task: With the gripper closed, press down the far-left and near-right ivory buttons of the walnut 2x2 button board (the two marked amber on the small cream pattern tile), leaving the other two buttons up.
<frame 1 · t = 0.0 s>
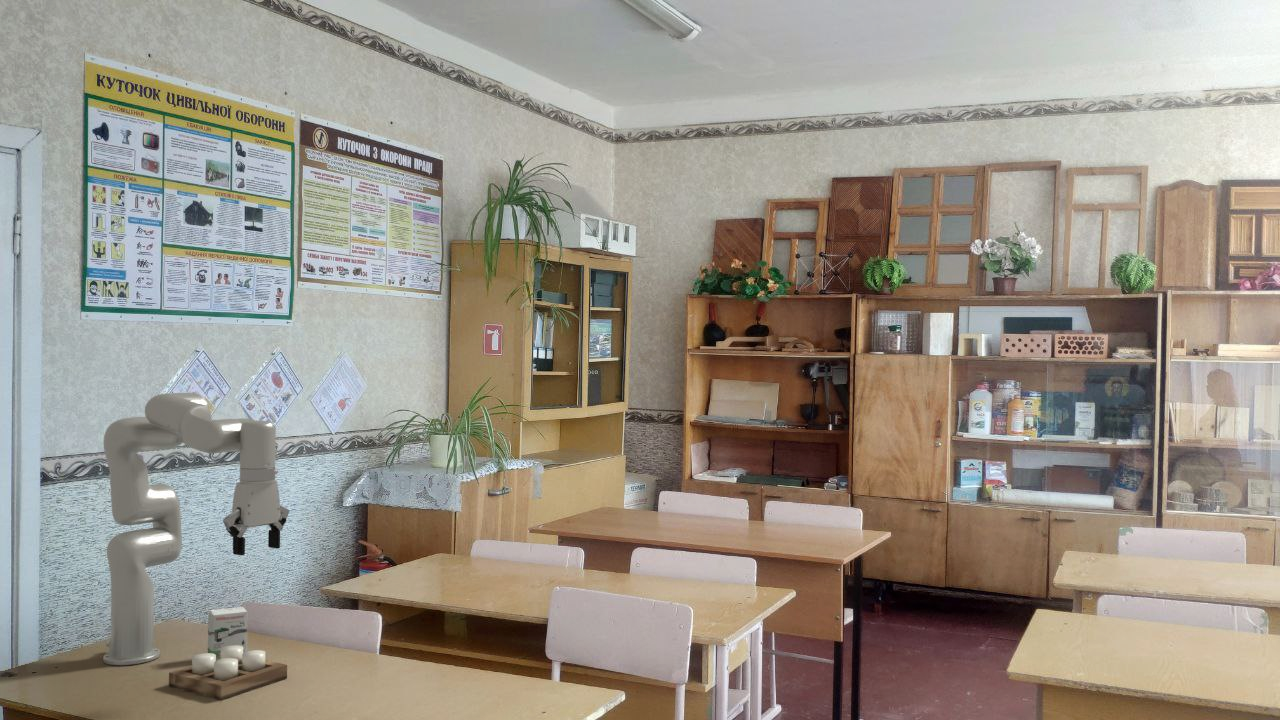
hand: (256, 551, 230), 31 cm above the table, fingers open, 9 cm apart
pattern tile: (213, 668, 245), on the table
ink box: (227, 658, 254), on the table
button a: (203, 663, 233), point 5 cm above the table, slide at 0.0 cm
button b: (231, 655, 240), point 5 cm above the table, slide at 0.0 cm
button d: (253, 660, 236), point 5 cm above the table, slide at 0.0 cm
button c: (225, 669, 229), point 5 cm above the table, slide at 0.0 cm
button board: (228, 682, 234), on the table
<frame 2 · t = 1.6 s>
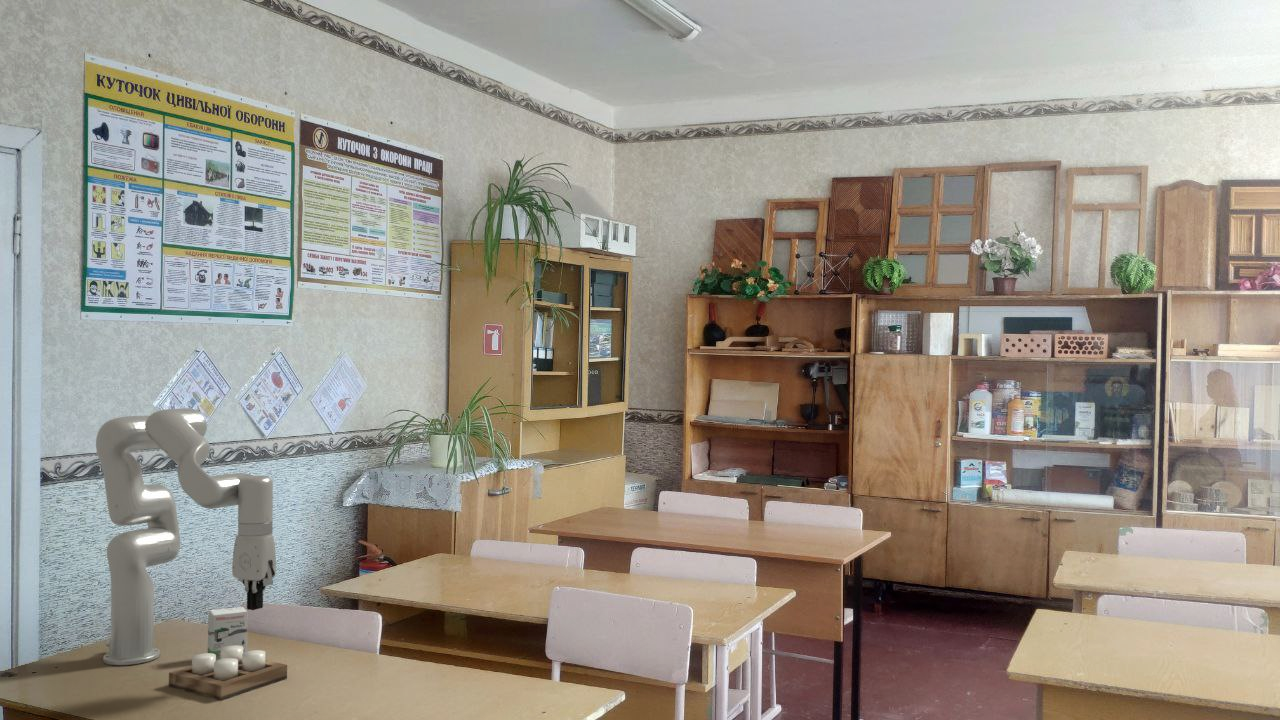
hand: (254, 608, 236), 17 cm above the table, fingers closed
nothing on the table moved.
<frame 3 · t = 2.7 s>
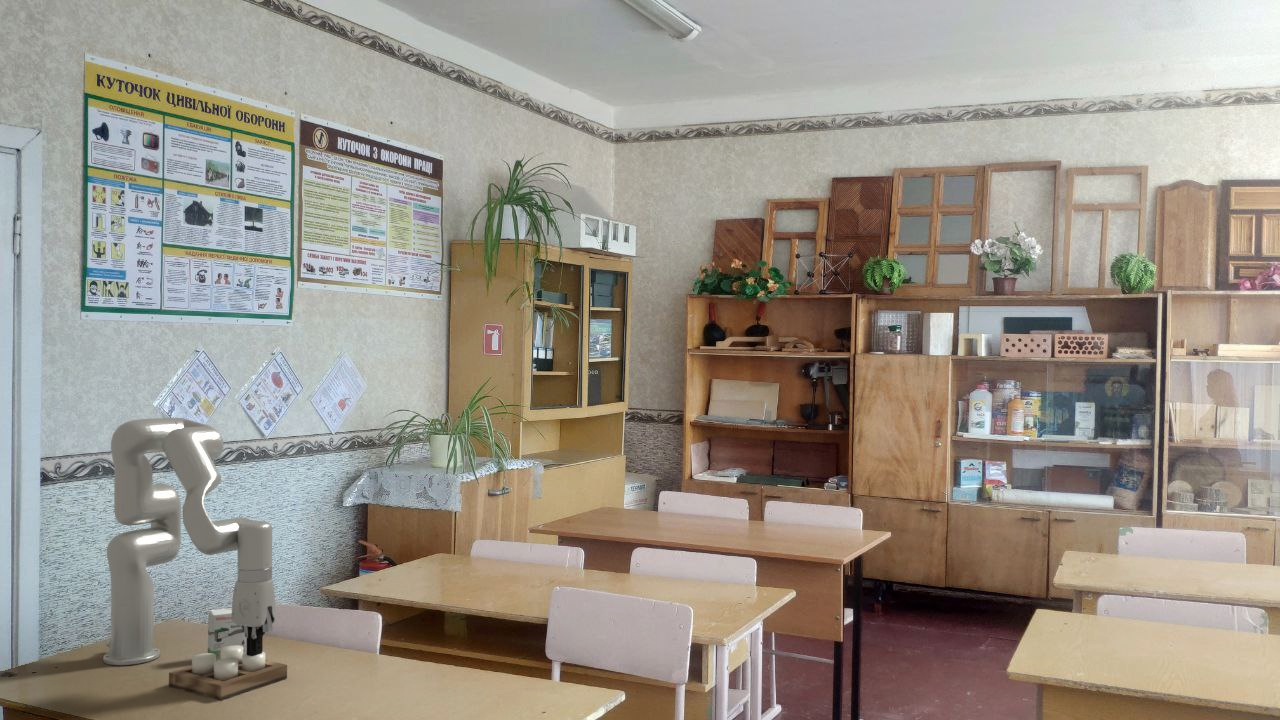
hand: (254, 654, 236), 6 cm above the table, fingers closed
button d: (253, 661, 236), point 4 cm above the table, slide at 0.3 cm, touching gripper
everything else where it was.
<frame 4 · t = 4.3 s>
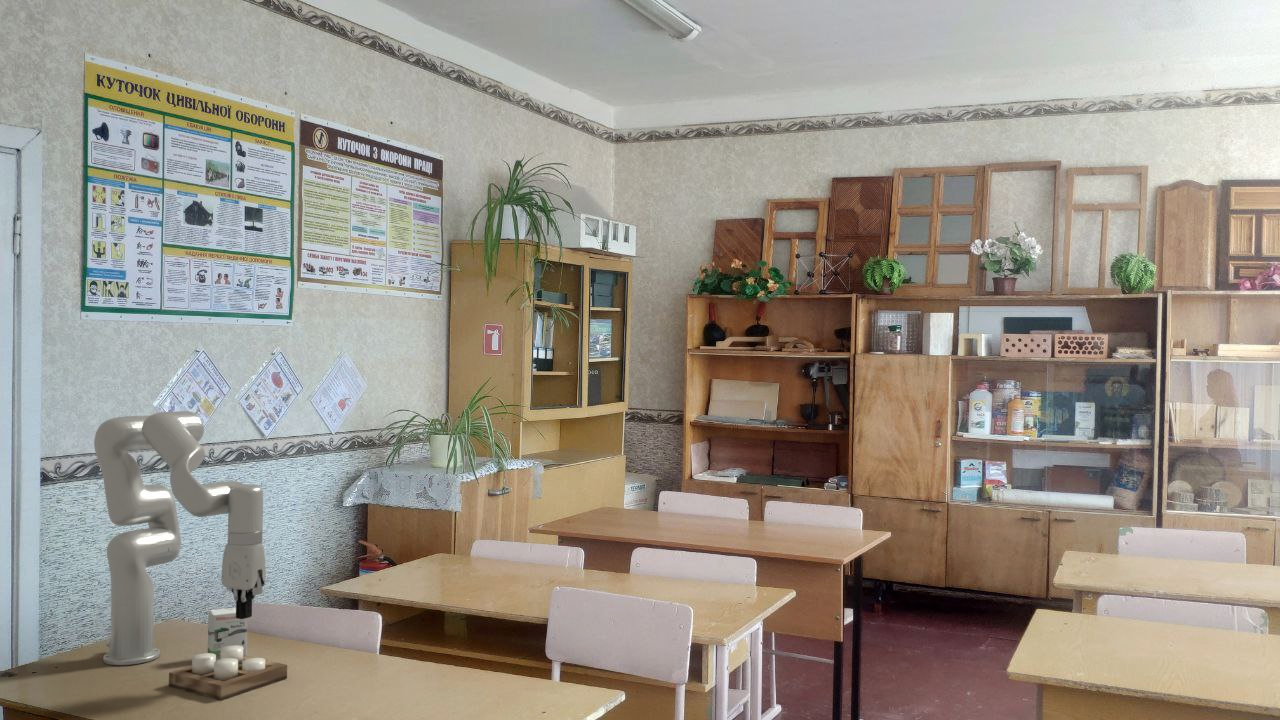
hand: (243, 617, 235), 15 cm above the table, fingers closed
button d: (253, 668, 236), point 3 cm above the table, slide at 1.8 cm
everything else where it was.
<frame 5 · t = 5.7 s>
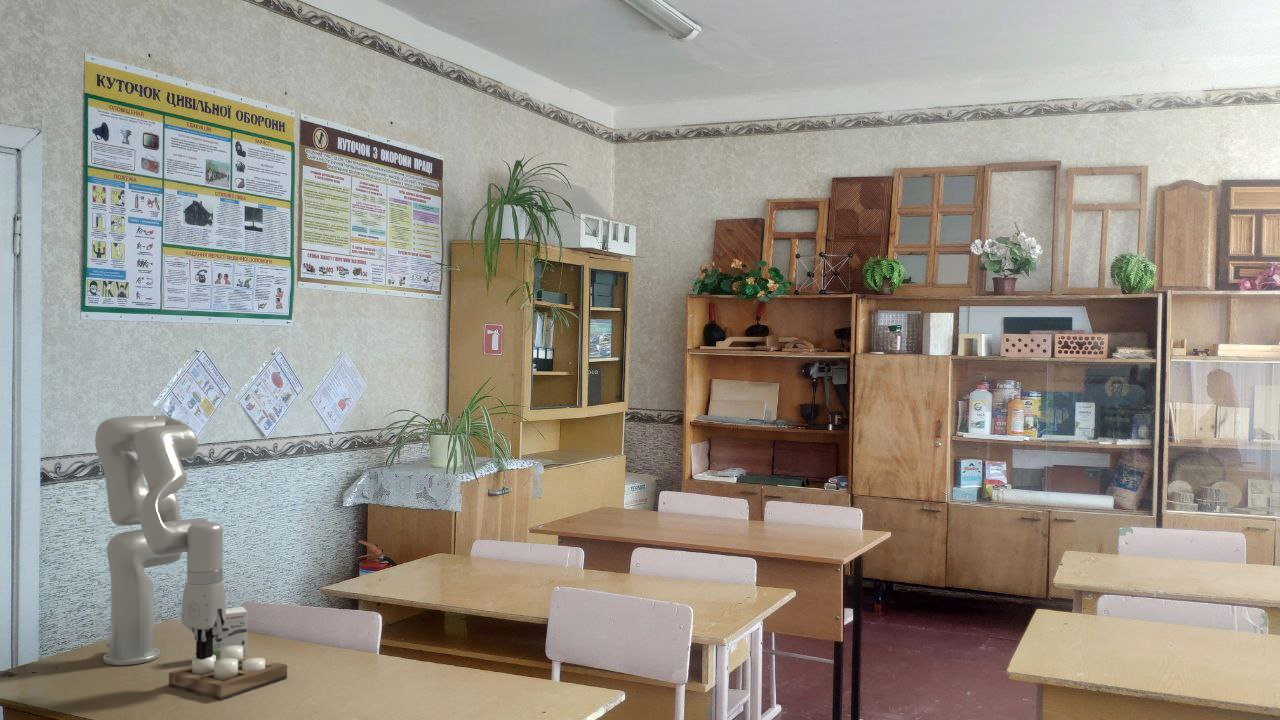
hand: (204, 657, 233), 6 cm above the table, fingers closed
button a: (203, 664, 233), point 4 cm above the table, slide at 0.2 cm, touching gripper
everything else where it was.
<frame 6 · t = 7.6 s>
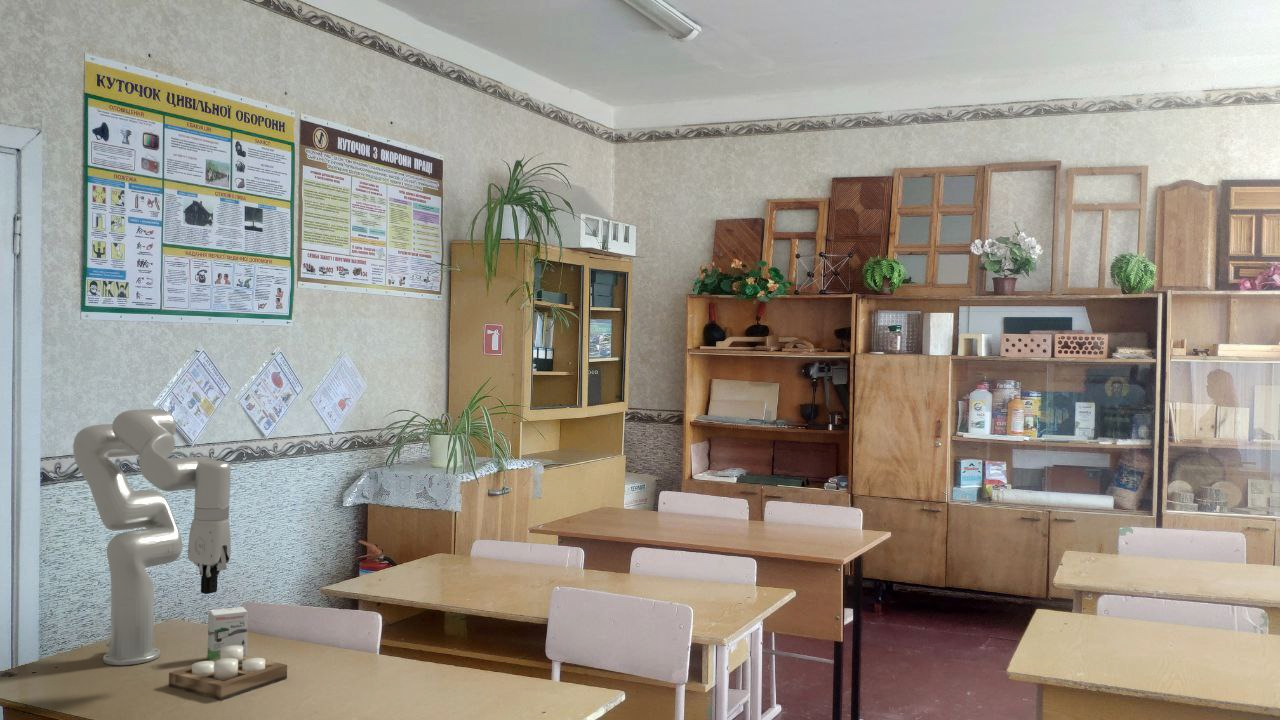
hand: (208, 592, 237), 20 cm above the table, fingers closed
button a: (203, 671, 233), point 3 cm above the table, slide at 1.8 cm
everything else where it was.
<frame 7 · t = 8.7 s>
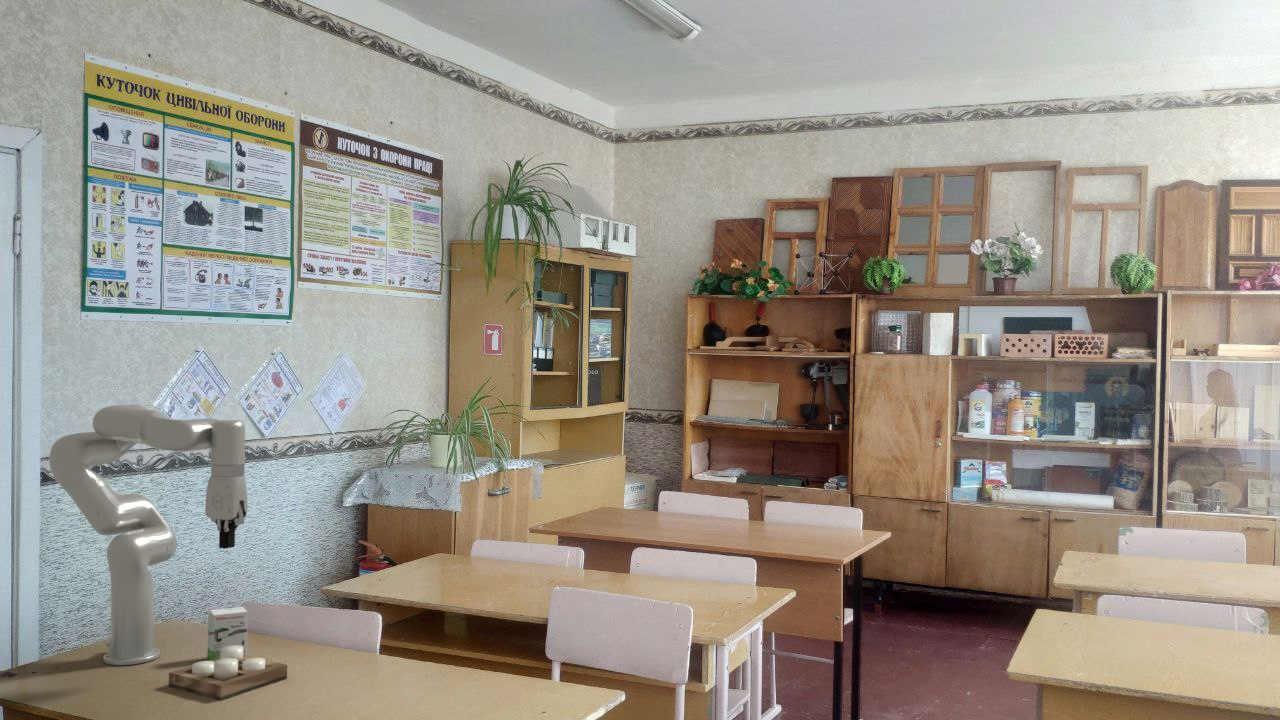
hand: (227, 547, 246), 29 cm above the table, fingers closed
nothing on the table moved.
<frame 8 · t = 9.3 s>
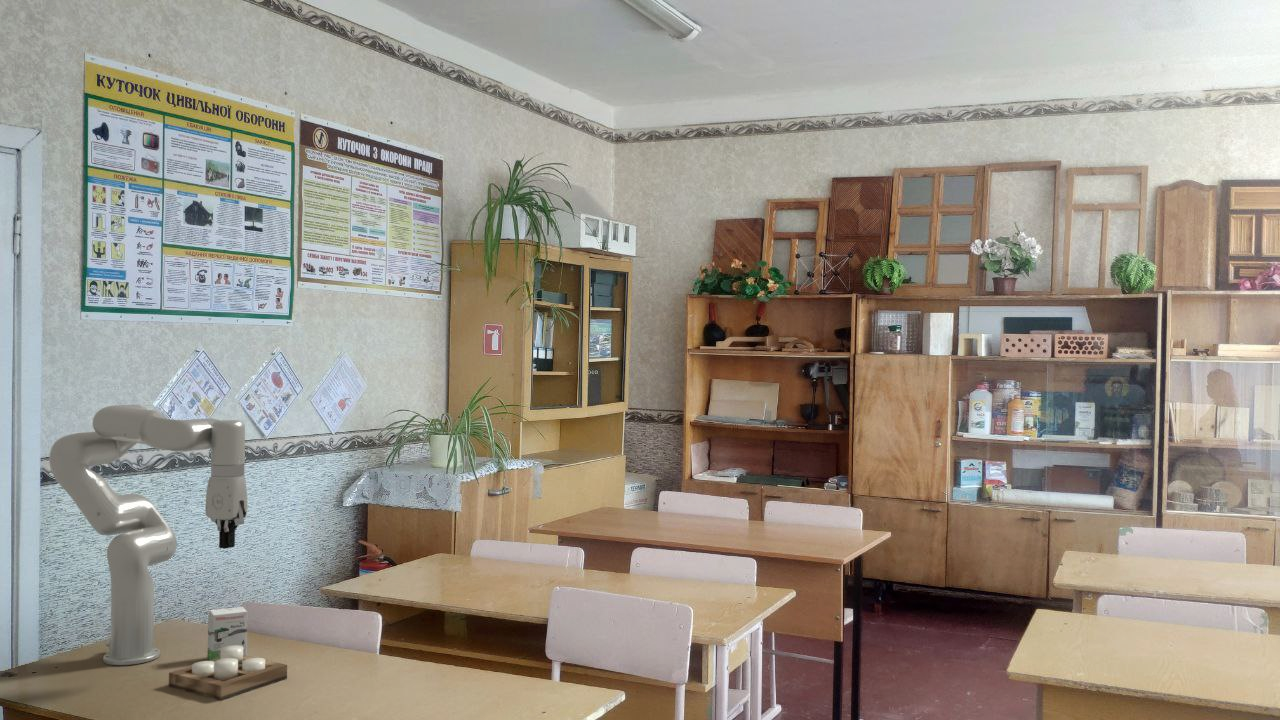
hand: (227, 547, 246), 29 cm above the table, fingers closed
nothing on the table moved.
at the end: button d slide at 1.8 cm; button a slide at 1.8 cm; button b slide at 0.0 cm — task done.
